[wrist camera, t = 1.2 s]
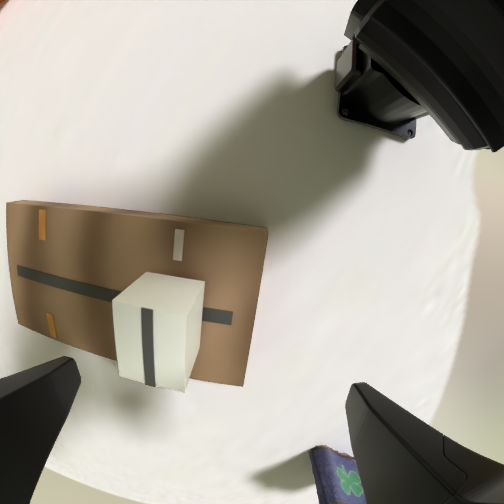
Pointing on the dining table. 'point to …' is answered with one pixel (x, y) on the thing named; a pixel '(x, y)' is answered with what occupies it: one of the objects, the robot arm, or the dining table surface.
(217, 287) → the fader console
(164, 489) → the dining table surface
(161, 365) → the fader knob
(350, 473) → the flask
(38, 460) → the robot arm
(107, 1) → the dining table surface
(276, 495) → the dining table surface
